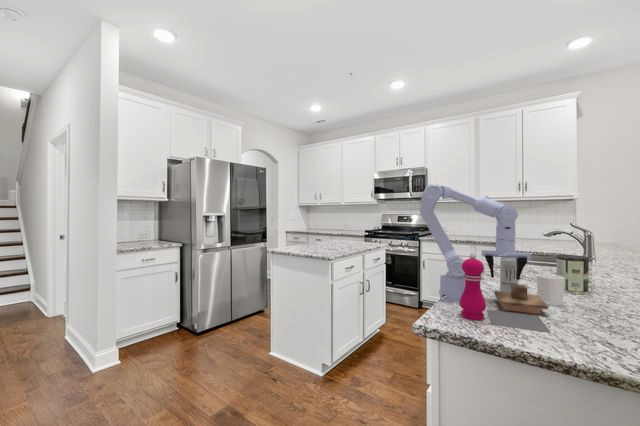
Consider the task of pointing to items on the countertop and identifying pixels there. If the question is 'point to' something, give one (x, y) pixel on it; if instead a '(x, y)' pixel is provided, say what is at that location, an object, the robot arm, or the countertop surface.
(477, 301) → the pepper mill
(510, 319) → the mat
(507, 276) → the energy drink can
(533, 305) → the lid
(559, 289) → the white cup
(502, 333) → the countertop surface
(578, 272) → the coffee can
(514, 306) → the dish
